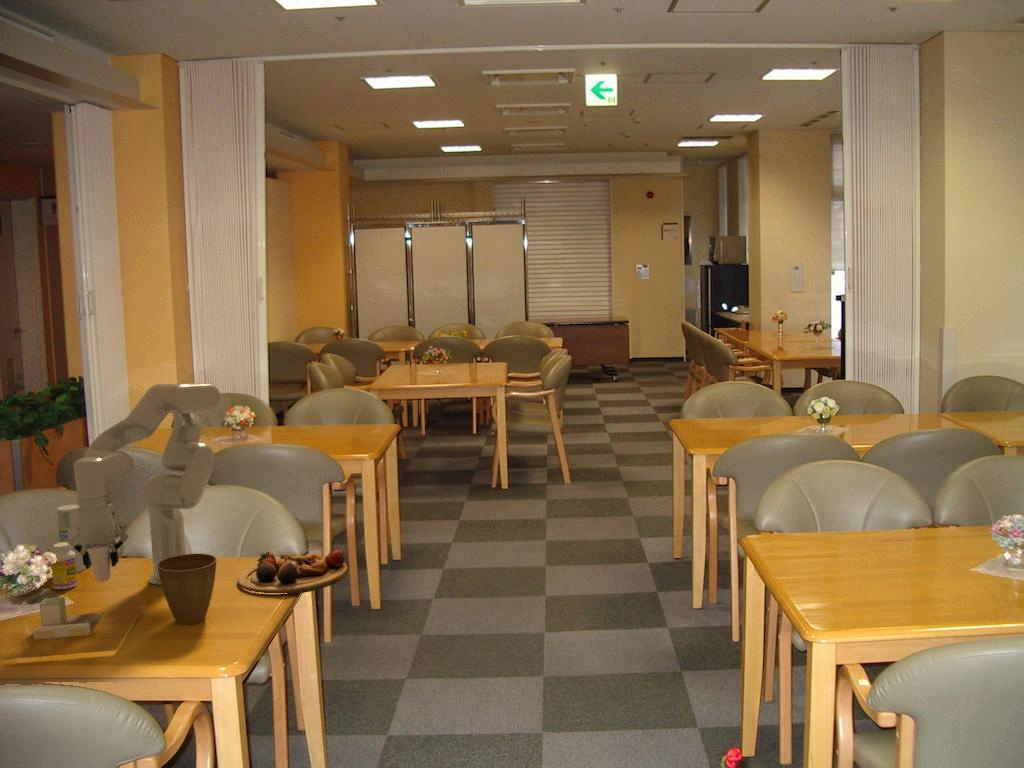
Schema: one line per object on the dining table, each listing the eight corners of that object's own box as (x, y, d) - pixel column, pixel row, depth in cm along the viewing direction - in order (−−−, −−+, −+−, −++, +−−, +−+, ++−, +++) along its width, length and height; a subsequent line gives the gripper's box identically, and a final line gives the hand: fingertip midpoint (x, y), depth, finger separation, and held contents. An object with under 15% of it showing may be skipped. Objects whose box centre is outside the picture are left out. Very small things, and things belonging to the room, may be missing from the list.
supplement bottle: (68, 590, 294) (64, 548, 292) (48, 590, 295) (44, 547, 294) (82, 583, 300) (78, 541, 299) (63, 582, 302) (59, 540, 300)
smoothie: (95, 576, 280) (88, 527, 278) (118, 574, 281) (112, 525, 278) (87, 584, 274) (80, 535, 272) (111, 582, 275) (105, 533, 272)
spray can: (89, 568, 314) (84, 506, 311) (70, 574, 309) (64, 511, 306) (77, 565, 318) (71, 503, 315) (58, 571, 313) (52, 508, 310)
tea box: (67, 622, 265) (64, 597, 264) (62, 628, 261) (59, 602, 260) (47, 624, 265) (44, 598, 264) (42, 630, 261) (39, 603, 260)
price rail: (90, 635, 258) (89, 622, 258) (88, 639, 256) (87, 625, 256) (37, 640, 256) (35, 626, 256) (34, 643, 254) (32, 630, 254)
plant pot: (166, 634, 257) (161, 574, 255) (157, 616, 270) (153, 558, 268) (226, 623, 264) (221, 563, 262) (214, 606, 277) (210, 549, 275)
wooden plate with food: (356, 560, 315) (354, 535, 314) (337, 594, 283) (335, 566, 282) (254, 565, 316) (252, 539, 314) (223, 599, 284) (221, 571, 283)
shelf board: (104, 616, 272) (104, 612, 272) (88, 638, 256) (88, 635, 256) (53, 620, 270) (53, 616, 270) (34, 643, 254) (34, 639, 254)
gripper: (129, 496, 278) (137, 558, 282) (64, 501, 276) (72, 564, 279) (123, 503, 271) (131, 567, 274) (56, 509, 269) (64, 574, 272)
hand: (101, 565), depth 277 cm, fingers closed on smoothie, 6 cm apart
